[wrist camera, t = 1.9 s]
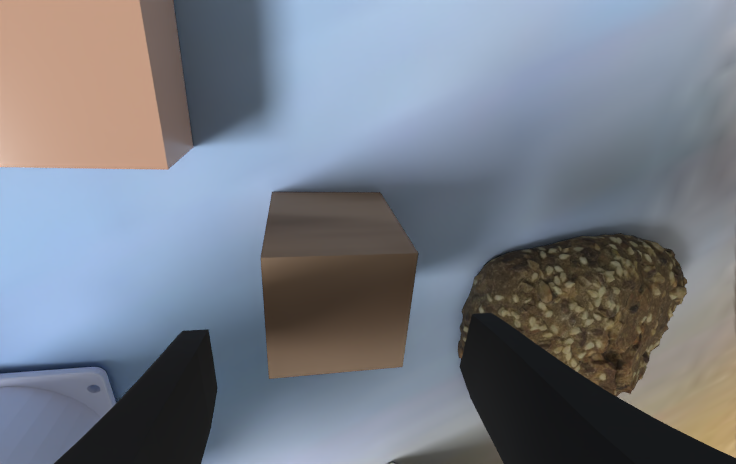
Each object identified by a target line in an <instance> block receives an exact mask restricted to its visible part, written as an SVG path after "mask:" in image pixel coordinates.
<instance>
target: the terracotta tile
mask: <svg viewBox="0 0 736 464" xmlns="http://www.w3.org/2000/svg"><path fill="white" fill-rule="evenodd" d="M192 148H193V141H192V134H191V126H190V119H189V112H188V104H187V97H186V90H185V82H184V75H183V68H182V60H181V53H180V46H179V38H178V31H177V24H176V17H175V9H174V2H173V0H0V167H34V168H102V169H169V168H170V167H172V166H173V165H174V164H175V163H176V162H177V161H178V160H179V159H181V158H182V157H183V156H184V155H185V154H186V153H187V152H189V151H190V150H191V149H192Z"/></svg>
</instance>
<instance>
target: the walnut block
mask: <svg viewBox="0 0 736 464" xmlns="http://www.w3.org/2000/svg"><path fill="white" fill-rule="evenodd" d="M417 258H418V252H417V250H416V249H415V247H414V246H413V244H412V242H411V241H410V239H409V238H408V236H407V234H406V233H405V231H404V230H403V228H402V226H401V225H400V223H399V222H398V220H397V218H396V217H395V215H394V214H393V212H392V210H391V209H390V207H389V206H388V204H387V202H386V201H385V199H384V198H383V196H382V194H381V193H380V192H272V195H271V201H270V207H269V213H268V218H267V224H266V230H265V236H264V241H263V247H262V253H261V270H262V285H263V299H264V314H265V328H266V343H267V358H268V372H269V379H273V378H284V377H295V376H306V375H318V374H329V373H340V372H351V371H362V370H373V369H384V368H396V367H402V366H403V359H404V352H405V345H406V338H407V330H408V323H409V316H410V309H411V302H412V294H413V287H414V280H415V273H416V266H417Z"/></svg>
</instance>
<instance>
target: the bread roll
mask: <svg viewBox="0 0 736 464" xmlns="http://www.w3.org/2000/svg"><path fill="white" fill-rule="evenodd" d="M686 283H687V279H686V278H685V277H684V276H683V272H682V270H681V267H680V264H679V263H678V262H677V260H676V259H675V254H674V253H673V251H672V250H670V249H665V248H662V247H661V246H660V245H659V244H658V243H656V242H652V241H648V240H643V239H638V238H637V237H635V236H630V235H623V234H621V233H620V234H614V235H600V236H580V237H576V238H572V239H568V240H564V241H560V242H557V243H553V244H550V245H546V246H540V247H535V248H531V249H524V250H517V251H512V252H508V253H506V254H504V255H501V256H499V257H497V258H495V259H492V260H491V261H489V262H488V263H487V264H486V265H484V267H483V268H482V270H481V271H480V273H479V275H477V276H476V277H475V278H474V282H473V286H472V289H471V292H470V294H469V297H468V299H467V301H466V303H465V305H464V307H463V309H462V314H463V320H462V324H461V326H460V330H461V338H460V341H459V343H458V354H459V358H461V359H462V355H463V351H464V346H465V342H466V338H467V333H468V329H469V325H470V320H471V316H472V314H478V313H493V314H494V315H496V316H497V317H499V318H500V319H502V320H503V321H505V322H506V323H508V324H509V325H511V326H512V327H513V328H515V329H516V330H518V331H519V332H520V333H522V334H523V335H525V336H526V337H527V338H529V339H530V340H532V341H533V342H534V343H536V344H537V345H539V346H540V347H541V348H543V349H544V350H546V351H547V352H549V353H550V354H551V355H553V356H554V357H556V358H557V359H559V360H560V361H562V362H563V363H564V364H566V365H567V366H569V367H570V368H572V369H573V370H575V371H576V372H578V373H579V374H581V375H583V376H584V377H586V378H587V379H589V380H590V381H592V382H594V383H595V384H597V385H598V386H600V387H601V388H603V389H605V390H606V391H608V392H609V393H611V394H613V395H614V396H617V395H619V394H620V393H621V392H627V393H630V394H631V391H632V390H633V389H634V388H635V385H636V383H637V382H638V380H640V379H642V378H643V375H644V373H645V370H646V365H647V363H648V361H649V354H650V352H651V351H652V350H653V349H655V348H656V347H658V346H659V344H660V339H661V338H662V335H663V333H664V332H665V331H666V330H668V327H667V323H668V321H669V320H670V317H672V316H673V314H672V313H673V312H674V311H675V308H676V305H679V304H681V303H682V301H683V298H684V296H685V295H686V294H687V292H686V288H685V284H686ZM470 398H471V397H470Z"/></svg>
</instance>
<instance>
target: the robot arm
mask: <svg viewBox="0 0 736 464" xmlns="http://www.w3.org/2000/svg"><path fill="white" fill-rule="evenodd" d="M460 369H461V372H462V375H463V377H464V380H465V383H466V386H467V389H468V391H469V394H470V397H471V399H472V402H473V404H474V406H475V408H476V410H477V412H478V414H479V416H480V418H481V420H482V422H483V424H484V426H485V428H486V429H487V431H488V433H489V435H490V437H491V439H492V441H493V443H494V445H495V447H496V449H497V451H498V453H499V455H500V457H501V459H502V461H503V463H504V464H736V458H734V457H732V456H730V455H728V454H725V453H723V452H721V451H719V450H717V449H715V448H712V447H710V446H708V445H706V444H704V443H702V442H700V441H698V440H696V439H694V438H692V437H690V436H688V435H686V434H684V433H682V432H680V431H678V430H676V429H674V428H672V427H670V426H668V425H666V424H664V423H663V422H661V421H659V420H657V419H655V418H653V417H651V416H650V415H648V414H646V413H644V412H642V411H641V410H639V409H637V408H635V407H634V406H632V405H630V404H628V403H626V402H625V401H623V400H621V399H619V398H618V397H616V396H614V395H613V394H611V393H609V392H608V391H606V390H605V389H603V388H601V387H600V386H598V385H597V384H595V383H594V382H592V381H590V380H589V379H587V378H586V377H584V376H583V375H581V374H579V373H578V372H576V371H575V370H573V369H572V368H570V367H569V366H567V365H566V364H564V363H563V362H562V361H560V360H559V359H557V358H556V357H554V356H553V355H551V354H550V353H549V352H547V351H546V350H544V349H543V348H541V347H540V346H539V345H537V344H536V343H534V342H533V341H532V340H530V339H529V338H527V337H526V336H525V335H523V334H522V333H520V332H519V331H518V330H516V329H515V328H513V327H512V326H511V325H509V324H508V323H506V322H505V321H503V320H502V319H500V318H499V317H497V316H496V315H494V314H493V313H478V314H472V316H471V320H470V325H469V329H468V333H467V338H466V342H465V346H464V351H463V355H462V359H461V364H460ZM95 385H97V386H95ZM216 393H217V382H216V376H215V369H214V363H213V356H212V350H211V343H210V336H209V330H191V331H182V332H181V333H180V334H179V335H178V336H177V337H176V338H175V340H174V341H173V342H172V343H171V344H170V345H169V346H168V347H167V349H166V350H165V351H164V352H163V353H162V354H161V355H160V357H159V358H158V359H157V360H156V361H155V362H154V363H153V364H152V365H151V367H150V368H149V369H148V370H147V371H146V372H145V373H144V374H143V375H142V377H141V378H140V379H139V380H138V381H137V382H136V383H135V384H134V385H133V386H132V387H131V388H130V389H129V390H128V391H127V392H126V394H125V395H124V396H123V397H122V398H121V399H120V400H119V401H118V402H117V403H116V401H115V398H114V395H113V391H112V388H111V385H110V382H109V379H108V376H107V373H106V372H105V371H104V370H103V369H102V368H99V367H83V368H70V369H56V370H43V371H30V372H17V373H3V374H0V464H201V461H202V458H203V454H204V450H205V447H206V443H207V440H208V436H209V432H210V429H211V423H212V418H213V412H214V406H215V399H216Z"/></svg>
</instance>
